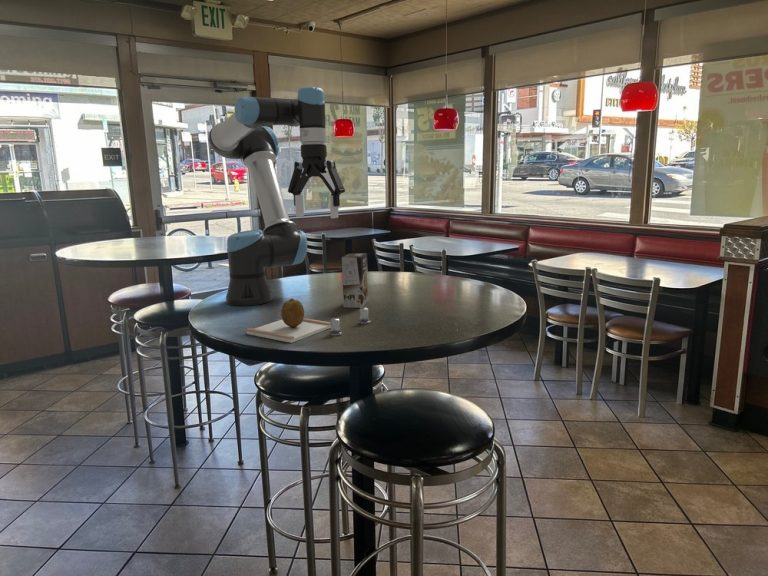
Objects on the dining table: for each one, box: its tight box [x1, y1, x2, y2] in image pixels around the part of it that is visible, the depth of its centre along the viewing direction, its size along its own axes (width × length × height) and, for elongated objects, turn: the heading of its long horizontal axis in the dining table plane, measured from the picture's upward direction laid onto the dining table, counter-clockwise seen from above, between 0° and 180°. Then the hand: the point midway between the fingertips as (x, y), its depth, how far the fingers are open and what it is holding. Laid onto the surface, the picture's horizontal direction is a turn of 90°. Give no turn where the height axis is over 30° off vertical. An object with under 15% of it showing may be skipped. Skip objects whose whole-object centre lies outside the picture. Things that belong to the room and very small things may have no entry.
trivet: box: [246, 317, 331, 344], centre depth 149 cm, size 16×16×1 cm
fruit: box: [280, 298, 305, 328], centre depth 149 cm, size 6×6×8 cm
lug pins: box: [328, 307, 372, 337], centre depth 150 cm, size 4×17×4 cm, turn 146°
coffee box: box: [341, 252, 369, 309], centre depth 176 cm, size 9×6×16 cm
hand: (316, 217), depth 165 cm, fingers open, 13 cm apart
